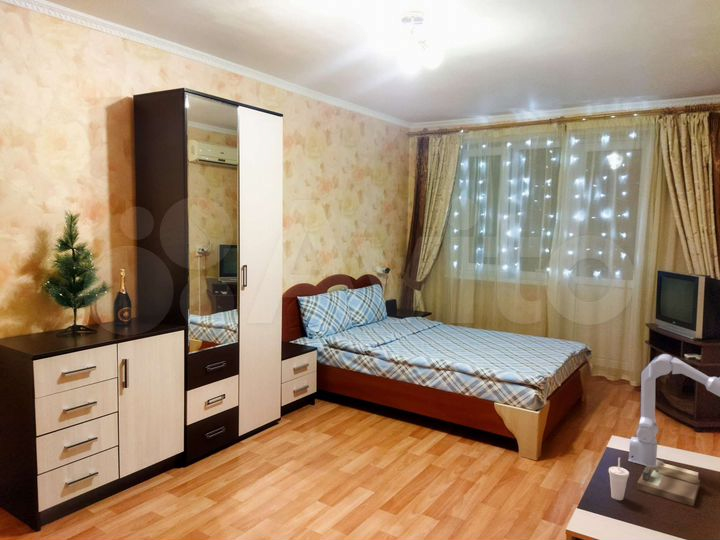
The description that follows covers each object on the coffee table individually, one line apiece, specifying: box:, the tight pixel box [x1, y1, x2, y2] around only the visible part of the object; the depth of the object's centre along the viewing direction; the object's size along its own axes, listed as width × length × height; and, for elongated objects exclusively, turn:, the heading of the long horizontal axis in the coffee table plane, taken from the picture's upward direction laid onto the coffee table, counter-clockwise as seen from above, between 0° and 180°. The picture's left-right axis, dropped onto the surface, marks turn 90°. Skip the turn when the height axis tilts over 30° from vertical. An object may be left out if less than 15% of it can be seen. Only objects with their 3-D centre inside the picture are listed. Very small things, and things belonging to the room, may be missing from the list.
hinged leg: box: [655, 459, 699, 484], centre depth 187 cm, size 13×3×4 cm, turn 50°
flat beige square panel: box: [636, 465, 701, 507], centre depth 184 cm, size 17×17×6 cm
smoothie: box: [608, 457, 630, 501], centre depth 177 cm, size 6×6×14 cm
